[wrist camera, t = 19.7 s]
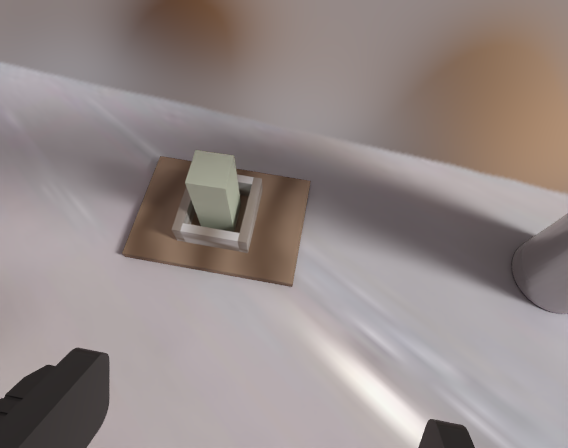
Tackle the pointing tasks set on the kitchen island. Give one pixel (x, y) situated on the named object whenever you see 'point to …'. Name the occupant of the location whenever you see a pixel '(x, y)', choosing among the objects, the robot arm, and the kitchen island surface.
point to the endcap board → (219, 243)
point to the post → (214, 190)
